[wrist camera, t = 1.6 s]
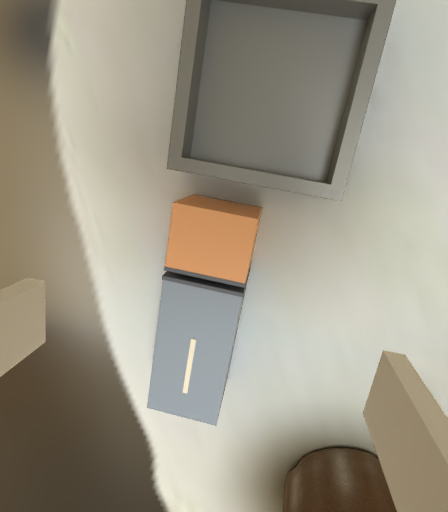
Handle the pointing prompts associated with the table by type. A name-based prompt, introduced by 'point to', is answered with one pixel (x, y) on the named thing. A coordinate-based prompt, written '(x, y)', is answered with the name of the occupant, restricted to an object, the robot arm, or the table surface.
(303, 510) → the plant pot
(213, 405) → the block
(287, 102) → the tray
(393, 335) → the table surface
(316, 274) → the table surface
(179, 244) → the stub
